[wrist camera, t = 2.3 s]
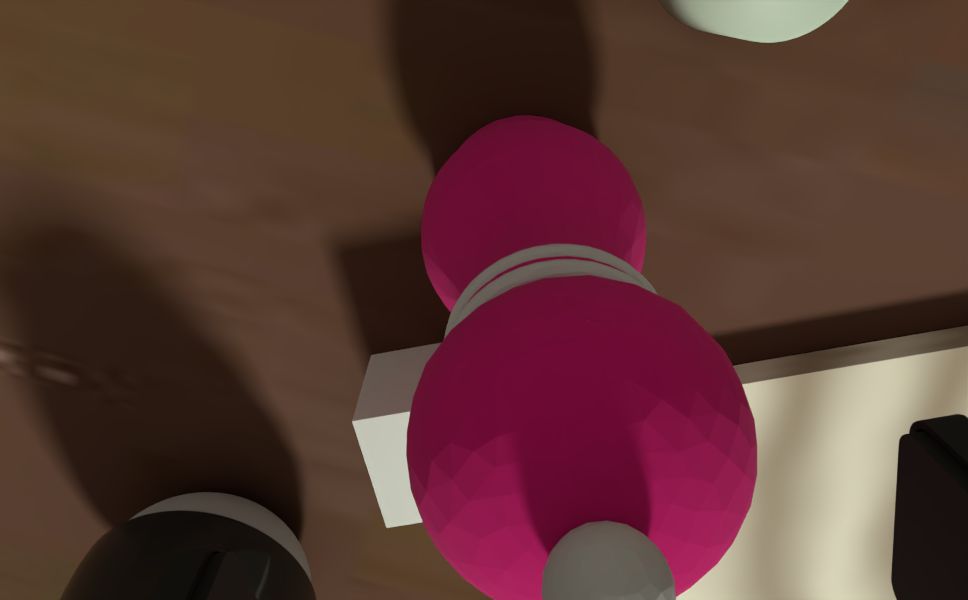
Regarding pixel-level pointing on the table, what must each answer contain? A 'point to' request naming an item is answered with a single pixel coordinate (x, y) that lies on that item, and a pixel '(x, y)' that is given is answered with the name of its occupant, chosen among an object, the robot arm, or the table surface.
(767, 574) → the ash board
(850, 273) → the table surface
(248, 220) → the table surface
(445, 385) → the pepper mill
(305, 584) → the dark grey egg shape
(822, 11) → the sage cylinder
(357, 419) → the grey block
